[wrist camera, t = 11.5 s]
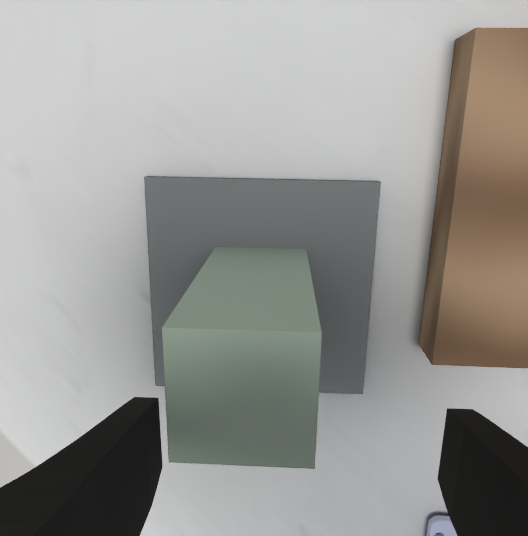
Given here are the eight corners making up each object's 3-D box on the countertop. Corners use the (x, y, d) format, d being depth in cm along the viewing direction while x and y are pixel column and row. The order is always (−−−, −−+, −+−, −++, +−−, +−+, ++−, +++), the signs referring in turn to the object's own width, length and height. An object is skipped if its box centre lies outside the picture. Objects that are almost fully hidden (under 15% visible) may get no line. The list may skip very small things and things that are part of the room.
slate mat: (361, 389, 22) (362, 394, 22) (157, 381, 22) (155, 385, 22) (378, 181, 19) (380, 182, 19) (147, 176, 20) (144, 177, 19)
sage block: (302, 333, 21) (314, 468, 12) (216, 330, 21) (168, 462, 12) (306, 248, 20) (321, 332, 11) (215, 246, 20) (162, 327, 11)
